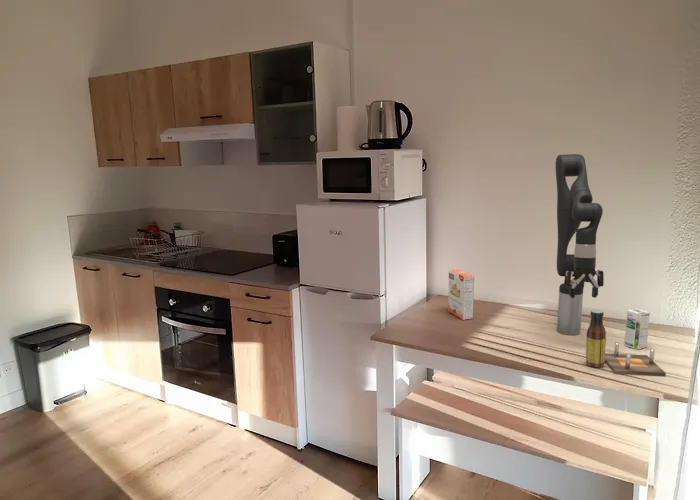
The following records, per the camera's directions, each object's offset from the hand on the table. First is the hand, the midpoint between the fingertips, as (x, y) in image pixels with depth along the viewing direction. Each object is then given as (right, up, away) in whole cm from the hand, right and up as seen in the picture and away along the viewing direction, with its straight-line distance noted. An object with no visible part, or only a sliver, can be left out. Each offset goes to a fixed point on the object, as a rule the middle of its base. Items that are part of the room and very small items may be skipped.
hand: (583, 297), depth 198 cm
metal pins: (+12, -22, -16) cm, 29 cm away
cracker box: (-38, -13, +45) cm, 60 cm away
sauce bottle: (-2, -23, -14) cm, 27 cm away
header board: (+10, -23, -16) cm, 29 cm away
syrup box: (+21, -20, +3) cm, 29 cm away
